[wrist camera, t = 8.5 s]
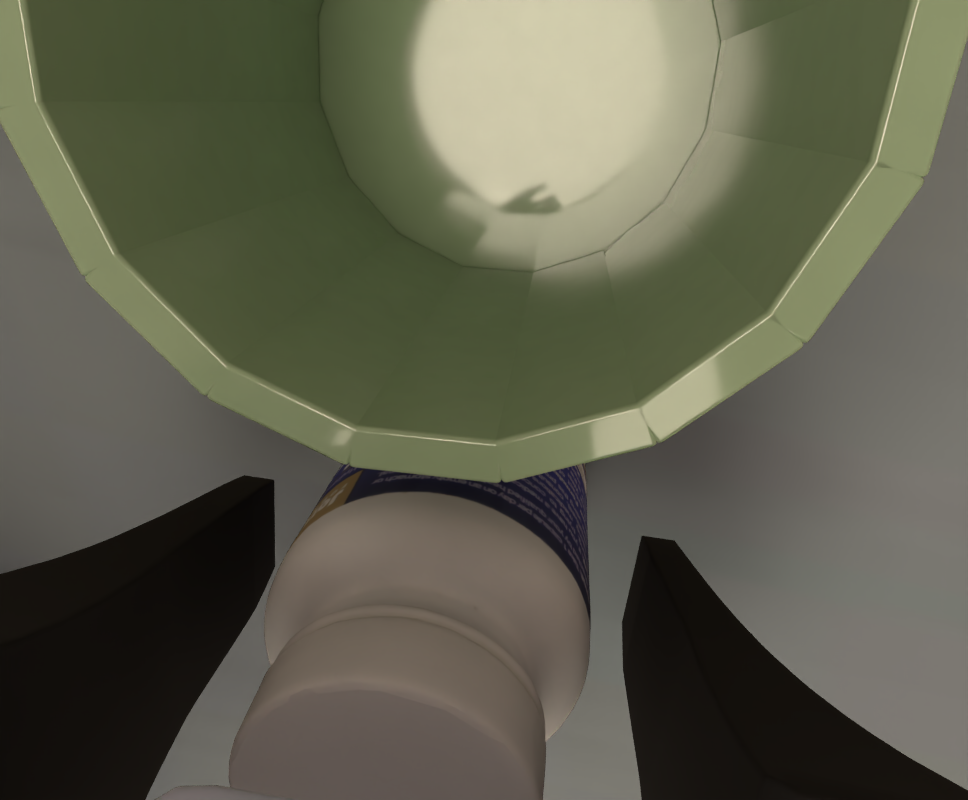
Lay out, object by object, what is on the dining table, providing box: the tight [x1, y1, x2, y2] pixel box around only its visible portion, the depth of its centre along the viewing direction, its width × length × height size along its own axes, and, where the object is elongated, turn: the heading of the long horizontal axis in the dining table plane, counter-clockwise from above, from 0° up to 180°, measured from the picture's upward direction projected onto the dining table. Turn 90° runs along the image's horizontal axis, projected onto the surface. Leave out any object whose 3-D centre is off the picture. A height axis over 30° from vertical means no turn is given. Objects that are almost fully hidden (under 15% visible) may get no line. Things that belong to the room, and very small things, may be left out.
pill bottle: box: [229, 463, 590, 800], centre depth 13 cm, size 5×5×9 cm
